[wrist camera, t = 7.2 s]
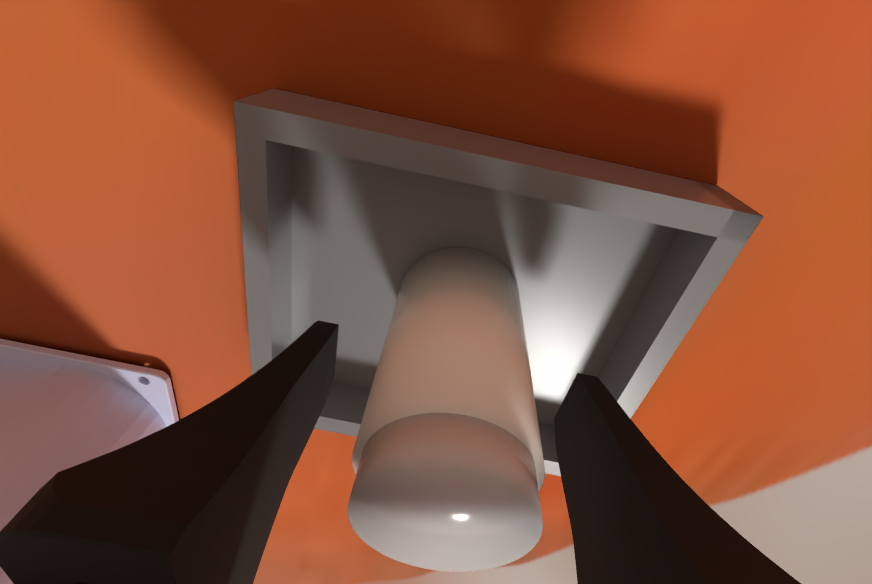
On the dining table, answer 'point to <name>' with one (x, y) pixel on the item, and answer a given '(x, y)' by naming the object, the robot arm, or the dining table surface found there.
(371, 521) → the shaker
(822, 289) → the dining table surface
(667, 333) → the tray
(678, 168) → the dining table surface
